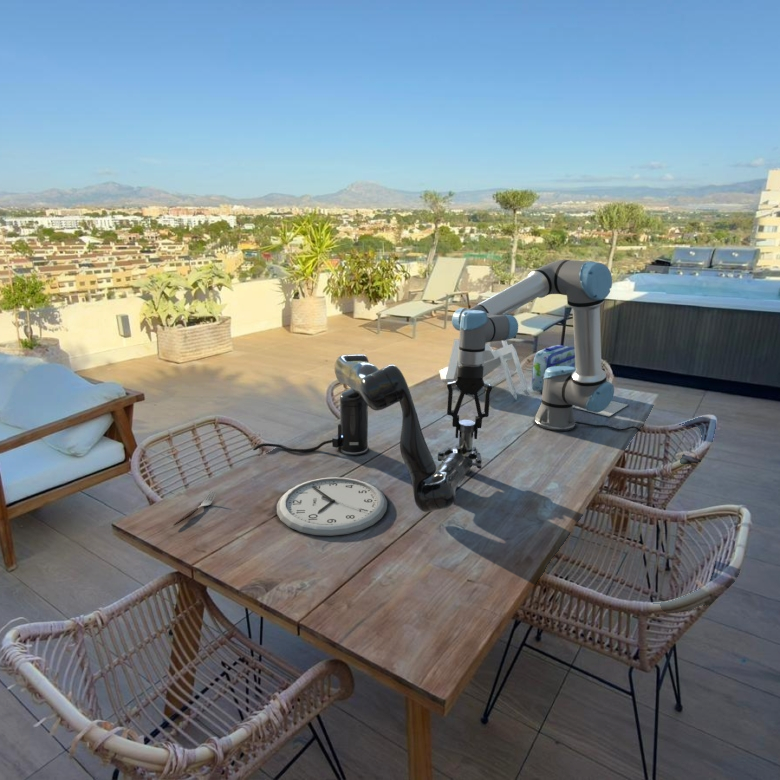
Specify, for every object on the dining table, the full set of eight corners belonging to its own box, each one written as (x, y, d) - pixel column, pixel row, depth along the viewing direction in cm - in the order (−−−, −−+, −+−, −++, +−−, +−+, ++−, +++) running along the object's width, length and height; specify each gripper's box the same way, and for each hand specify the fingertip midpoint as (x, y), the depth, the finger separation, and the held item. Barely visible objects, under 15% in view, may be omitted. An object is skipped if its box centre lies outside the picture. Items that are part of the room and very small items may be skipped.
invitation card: (608, 416, 214) (573, 407, 224) (608, 416, 214) (573, 408, 224) (628, 404, 229) (594, 396, 238) (628, 405, 229) (594, 397, 238)
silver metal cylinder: (470, 474, 162) (473, 427, 157) (457, 473, 163) (460, 426, 158) (470, 468, 166) (473, 422, 161) (457, 467, 167) (460, 421, 162)
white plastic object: (461, 429, 252) (437, 405, 227) (444, 352, 274) (420, 323, 250) (535, 404, 240) (518, 377, 215) (510, 326, 262) (492, 293, 237)
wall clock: (392, 527, 129) (268, 531, 127) (391, 533, 130) (269, 537, 127) (383, 473, 158) (282, 475, 155) (383, 478, 158) (282, 480, 156)
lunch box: (548, 397, 237) (553, 352, 230) (527, 392, 244) (531, 348, 238) (575, 386, 254) (580, 344, 248) (555, 382, 261) (559, 340, 255)
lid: (477, 432, 158) (477, 425, 157) (460, 433, 157) (460, 426, 157) (472, 426, 163) (472, 419, 162) (456, 427, 162) (456, 420, 162)
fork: (169, 526, 131) (168, 519, 131) (210, 497, 146) (210, 490, 145) (177, 528, 130) (176, 521, 130) (218, 498, 145) (217, 492, 144)
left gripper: (477, 463, 146) (490, 441, 161) (429, 454, 151) (446, 433, 166) (475, 487, 148) (488, 463, 163) (428, 477, 153) (445, 455, 169)
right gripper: (500, 361, 157) (494, 434, 164) (440, 359, 158) (436, 430, 165) (503, 368, 149) (496, 443, 156) (439, 365, 151) (436, 439, 158)
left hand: (467, 448), depth 165 cm, fingers closed on silver metal cylinder, 4 cm apart
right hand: (466, 436), depth 161 cm, fingers closed on lid, 5 cm apart
